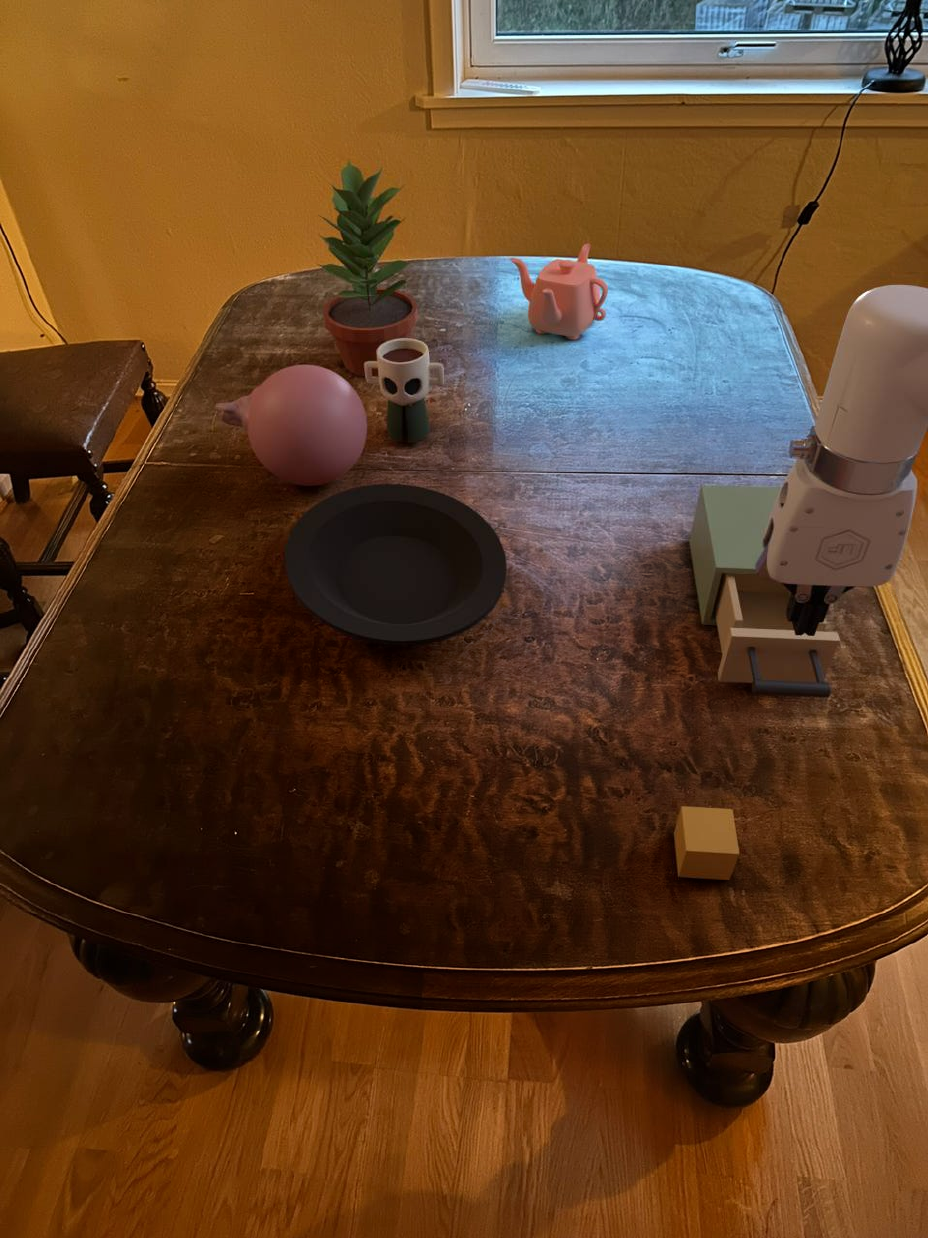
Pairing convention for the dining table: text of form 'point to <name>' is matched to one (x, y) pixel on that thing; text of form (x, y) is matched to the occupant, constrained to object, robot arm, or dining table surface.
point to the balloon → (302, 424)
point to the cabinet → (727, 536)
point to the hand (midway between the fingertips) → (801, 624)
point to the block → (706, 843)
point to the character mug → (405, 385)
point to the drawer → (769, 640)
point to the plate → (395, 564)
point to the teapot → (564, 296)
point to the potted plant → (365, 275)
